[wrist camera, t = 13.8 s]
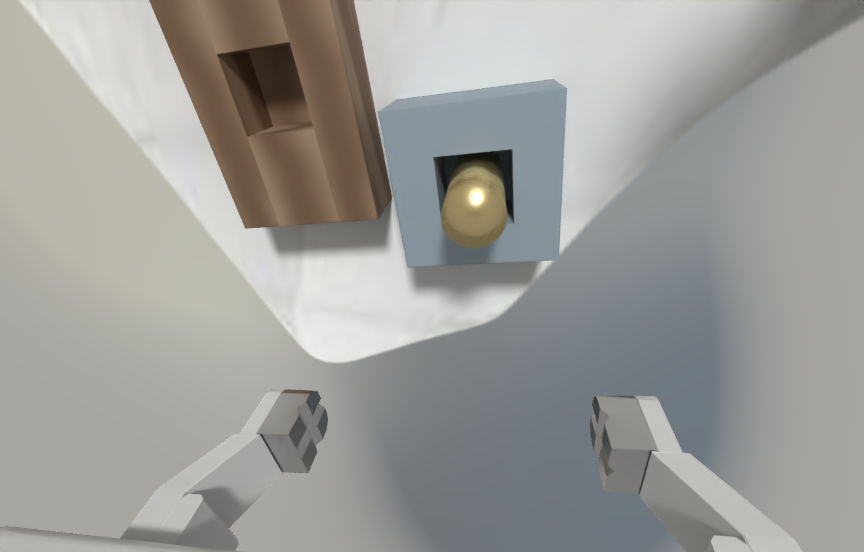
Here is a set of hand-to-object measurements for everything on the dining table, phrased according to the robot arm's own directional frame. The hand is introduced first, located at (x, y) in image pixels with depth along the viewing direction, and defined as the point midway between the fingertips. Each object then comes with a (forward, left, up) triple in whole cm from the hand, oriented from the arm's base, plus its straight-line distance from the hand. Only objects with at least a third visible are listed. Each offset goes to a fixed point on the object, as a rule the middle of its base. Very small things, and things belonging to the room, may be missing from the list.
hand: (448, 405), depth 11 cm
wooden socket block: (+14, -8, -25) cm, 30 cm away
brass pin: (0, 0, -24) cm, 24 cm away
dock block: (0, 0, -25) cm, 25 cm away
